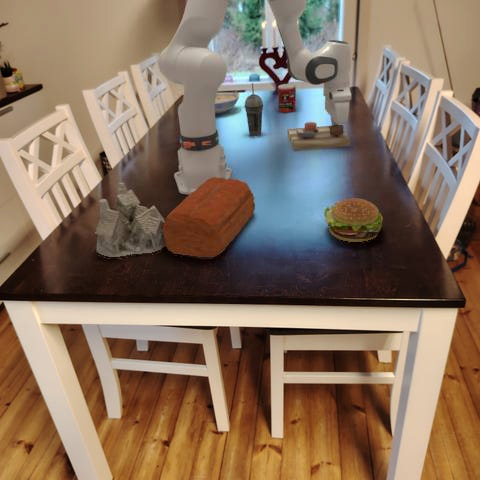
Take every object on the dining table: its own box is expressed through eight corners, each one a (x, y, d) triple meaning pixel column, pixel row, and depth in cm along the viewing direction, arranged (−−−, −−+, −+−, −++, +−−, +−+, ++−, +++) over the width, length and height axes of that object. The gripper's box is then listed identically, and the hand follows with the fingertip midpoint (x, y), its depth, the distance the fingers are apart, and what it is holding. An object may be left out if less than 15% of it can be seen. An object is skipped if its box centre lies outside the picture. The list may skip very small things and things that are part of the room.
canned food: (276, 113, 208) (276, 87, 202) (280, 108, 214) (280, 83, 209) (293, 113, 206) (293, 87, 200) (297, 108, 212) (297, 83, 207)
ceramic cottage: (88, 248, 115) (77, 193, 107) (142, 224, 125) (136, 173, 117) (124, 274, 106) (116, 215, 98) (180, 246, 116) (176, 191, 108)
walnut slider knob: (343, 134, 166) (343, 126, 164) (330, 135, 166) (331, 127, 164) (341, 132, 168) (342, 124, 166) (329, 133, 168) (330, 125, 166)
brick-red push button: (317, 131, 171) (317, 125, 170) (305, 132, 171) (305, 126, 170) (315, 128, 175) (315, 121, 174) (303, 128, 175) (303, 122, 174)
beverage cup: (265, 131, 186) (263, 80, 176) (264, 137, 180) (261, 84, 170) (246, 132, 187) (243, 80, 177) (245, 138, 181) (242, 85, 170)
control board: (349, 146, 165) (350, 136, 163) (293, 150, 165) (293, 141, 163) (339, 132, 179) (339, 123, 177) (287, 136, 179) (287, 127, 177)
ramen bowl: (182, 119, 209) (180, 100, 205) (198, 105, 228) (196, 88, 224) (236, 119, 203) (235, 100, 199) (248, 105, 222) (247, 88, 218)
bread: (259, 211, 126) (257, 175, 121) (219, 264, 105) (215, 223, 100) (208, 205, 132) (204, 170, 126) (160, 253, 111) (153, 214, 105)
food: (328, 215, 122) (329, 188, 117) (384, 222, 117) (387, 193, 113) (316, 242, 111) (317, 212, 107) (377, 250, 106) (380, 219, 102)
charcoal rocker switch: (314, 137, 165) (315, 133, 165) (298, 136, 165) (298, 132, 164) (312, 133, 169) (313, 130, 168) (296, 132, 168) (296, 129, 168)
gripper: (321, 84, 170) (320, 121, 177) (333, 97, 153) (332, 138, 160) (338, 83, 170) (336, 120, 177) (353, 96, 153) (350, 137, 160)
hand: (334, 129), depth 168 cm, fingers closed
